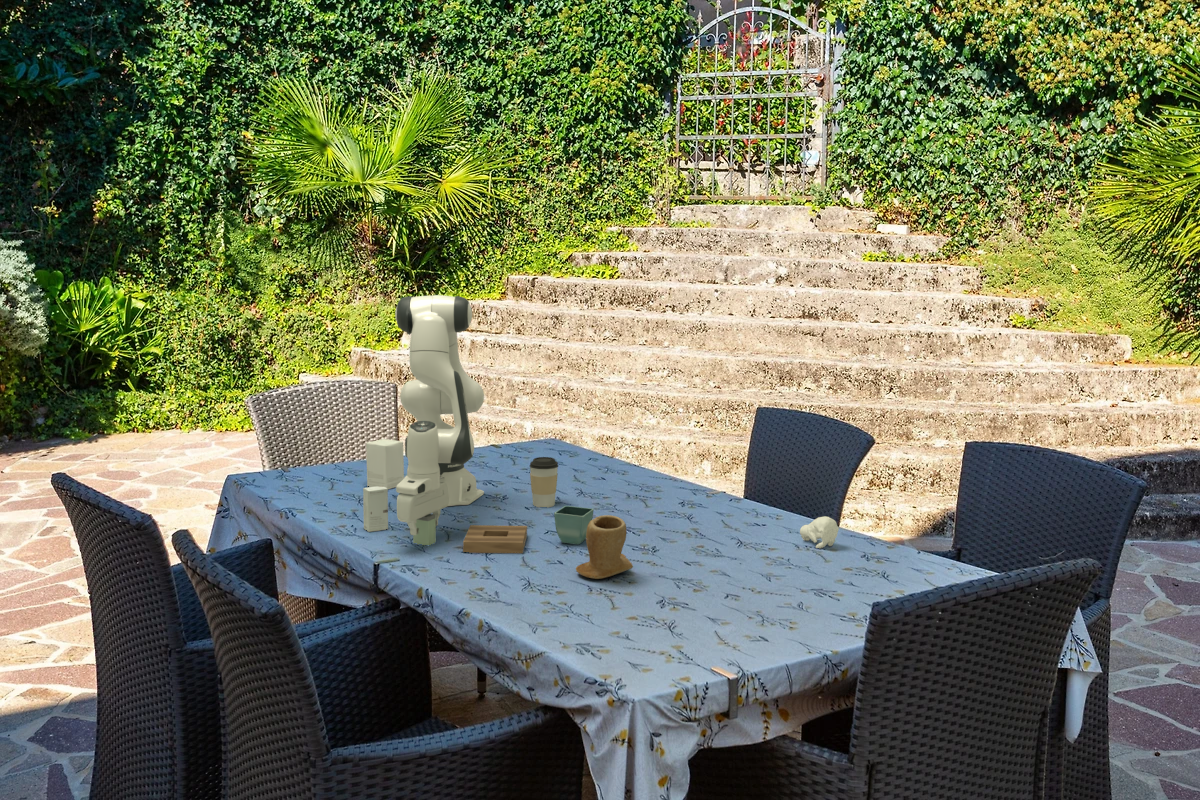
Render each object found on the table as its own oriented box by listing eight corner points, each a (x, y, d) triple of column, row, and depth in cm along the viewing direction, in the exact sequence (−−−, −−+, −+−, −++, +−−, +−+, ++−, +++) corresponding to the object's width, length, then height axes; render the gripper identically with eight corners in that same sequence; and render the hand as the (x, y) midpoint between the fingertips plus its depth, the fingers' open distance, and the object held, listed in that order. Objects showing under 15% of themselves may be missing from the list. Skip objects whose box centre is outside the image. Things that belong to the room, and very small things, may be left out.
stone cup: (601, 586, 266) (601, 527, 264) (569, 574, 275) (569, 517, 273) (645, 573, 277) (646, 516, 274) (613, 562, 285) (614, 507, 283)
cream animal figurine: (823, 520, 296) (793, 514, 306) (824, 550, 296) (793, 543, 306) (840, 516, 299) (809, 510, 309) (841, 547, 300) (810, 540, 310)
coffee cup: (524, 506, 339) (524, 459, 337) (536, 499, 347) (537, 453, 345) (550, 509, 336) (551, 462, 333) (562, 502, 344) (563, 456, 342)
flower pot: (594, 539, 306) (594, 508, 304) (583, 547, 297) (583, 516, 296) (564, 535, 309) (564, 505, 307) (553, 544, 300) (553, 512, 299)
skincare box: (368, 532, 309) (367, 491, 307) (363, 528, 313) (362, 487, 311) (389, 529, 313) (388, 488, 311) (383, 525, 316) (382, 485, 314)
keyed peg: (420, 540, 303) (420, 512, 301) (435, 542, 301) (435, 514, 299) (413, 543, 300) (412, 515, 298) (428, 546, 298) (428, 517, 296)
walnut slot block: (470, 535, 308) (470, 525, 307) (526, 536, 308) (526, 525, 307) (463, 552, 292) (463, 541, 291) (522, 553, 292) (522, 542, 291)
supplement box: (405, 485, 364) (404, 441, 362) (386, 490, 357) (385, 445, 354) (385, 481, 369) (384, 438, 367) (366, 486, 362) (365, 442, 359)
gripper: (435, 472, 308) (435, 519, 310) (392, 487, 290) (393, 538, 292) (454, 474, 305) (454, 522, 308) (411, 490, 287) (412, 541, 289)
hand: (424, 530), depth 300 cm, fingers open, 8 cm apart
